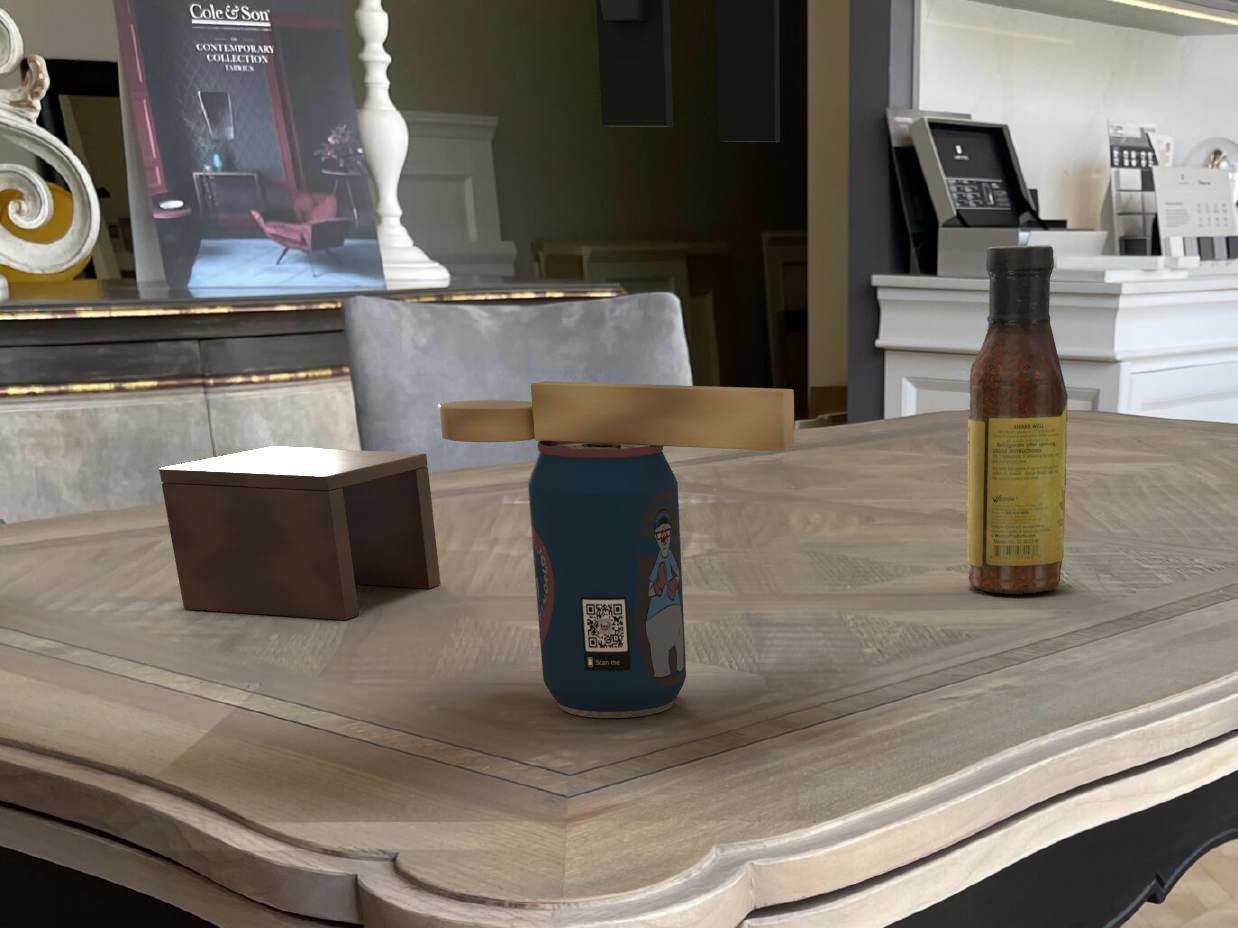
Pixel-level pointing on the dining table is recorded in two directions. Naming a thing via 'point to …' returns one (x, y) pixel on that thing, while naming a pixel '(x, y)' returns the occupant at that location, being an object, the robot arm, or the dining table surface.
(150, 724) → the dining table surface
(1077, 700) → the dining table surface
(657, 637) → the soda can
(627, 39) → the robot arm
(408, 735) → the dining table surface
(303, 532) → the shelf
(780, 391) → the wooden stepped block
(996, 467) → the sauce bottle
